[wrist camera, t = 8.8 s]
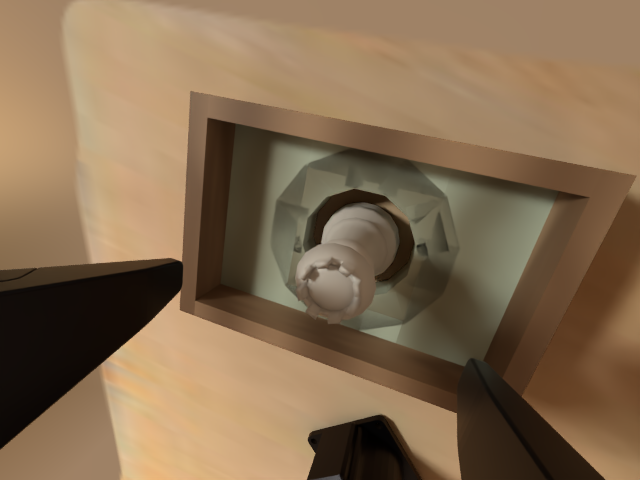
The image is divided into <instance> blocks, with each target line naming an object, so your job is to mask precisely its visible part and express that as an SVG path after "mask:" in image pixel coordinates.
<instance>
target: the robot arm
mask: <svg viewBox="0 0 640 480" xmlns="http://www.w3.org/2000/svg"><path fill="white" fill-rule="evenodd" d="M182 284H183V263H182V262H181V261H178V260H175V259H172V258H165V259H151V260H138V261H124V262H110V263H96V264H83V265H69V266H55V267H43V268H42V267H41V268H38V269H37V268H28V269H12V270H0V450H1V449H2V448H3V447H4V446H5V445H6V444H8V443H9V442H10V441H11V440H12V439H13V438H15V437H16V436H17V435H18V434H19V433H20V432H22V431H23V430H24V429H25V428H26V427H28V426H29V425H30V424H31V423H32V422H33V421H35V420H36V419H37V418H38V417H39V416H40V415H42V414H43V413H44V412H45V411H46V410H48V409H49V408H50V407H51V406H52V405H53V404H55V403H56V402H57V401H58V400H59V399H60V398H62V397H63V396H64V395H65V394H66V393H67V392H69V391H70V390H71V389H72V388H73V387H75V386H76V385H77V384H78V383H79V382H80V381H81V380H83V379H84V378H85V377H86V376H87V375H89V374H90V373H91V372H92V371H93V370H94V369H96V368H97V367H98V366H99V365H100V364H102V363H103V362H104V361H105V360H106V359H107V358H109V357H110V356H111V355H112V354H113V353H114V352H116V351H117V350H118V349H119V348H120V347H121V346H123V345H124V344H125V343H126V342H127V341H129V340H130V339H131V338H132V337H133V336H134V335H136V334H137V333H138V332H139V331H140V330H141V329H143V328H144V327H145V326H146V325H147V324H148V323H149V322H150V321H151V320H152V319H153V318H154V317H155V316H156V315H157V314H158V313H159V312H160V311H161V310H162V309H163V308H164V307H165V306H166V305H167V304H168V303H169V302H170V301H171V300H172V299H173V298H174V297H175V296H176V295H177V294H178V292H179V291H180V290H181V288H182ZM377 423H380V424H377ZM308 442H309V444H310V445H311V447H312V449H313V450H314V452H315V453H316V454H315V457H314V460H313V463H312V466H311V469H310V472H309V475H308V478H307V480H422V479H421V478H420V476H419V474H418V473H417V471H416V469H415V468H414V466H413V464H412V463H411V461H410V459H409V458H408V456H407V454H406V453H405V451H404V449H403V448H402V446H401V444H400V443H399V441H398V439H397V438H396V436H395V434H394V433H393V431H392V429H391V428H390V426H389V424H388V423H387V421H386V419H385V418H384V417H382V416H379V415H376V416H372V417H368V418H364V419H360V420H356V421H352V422H348V423H344V424H340V425H336V426H332V427H328V428H324V429H320V430H316V431H313V432H311V433H310V434H309V437H308ZM457 442H458V455H459V463H460V471H461V479H462V480H605V479H604V478H603V477H602V476H601V475H600V474H599V473H598V472H597V471H596V470H595V469H594V468H593V467H592V466H591V465H590V464H589V463H588V462H587V461H586V460H585V459H584V458H583V457H582V456H581V455H580V454H579V453H578V452H577V451H576V450H575V449H574V448H573V447H572V446H571V445H570V444H569V443H568V442H567V441H566V440H565V439H564V438H563V437H562V436H561V435H560V434H559V433H558V432H557V431H556V430H555V429H554V428H553V427H552V426H551V425H549V424H548V423H547V422H546V421H545V420H544V419H543V418H542V417H541V416H540V415H539V414H538V413H537V412H536V411H535V410H534V409H533V408H532V407H531V406H530V405H529V404H528V403H527V402H526V401H525V400H524V399H523V398H522V397H521V396H520V395H519V394H518V393H517V392H516V391H515V390H514V389H513V388H512V387H511V386H510V385H509V384H508V383H507V382H506V381H505V380H504V379H503V378H502V377H501V376H500V375H499V374H498V373H497V372H496V371H495V370H494V369H493V368H492V367H491V366H490V365H489V364H488V363H486V362H484V361H481V360H478V359H475V358H470V359H469V360H468V361H467V363H466V365H465V367H464V370H463V372H462V374H461V377H460V379H459V381H458V385H457Z"/></svg>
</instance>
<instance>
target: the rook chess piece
mask: <svg viewBox="0 0 640 480" xmlns="http://www.w3.org/2000/svg"><path fill="white" fill-rule="evenodd" d="M321 243H322V244H320V245H317V246H316V247H314V248H312V249H311V250H309V251H307V252H306V253H305V254H304V256H303V257H302V259H301V260H300V261H299V263H298V265H297V271H296V276H295V280H296V284H297V288H296V289H295V290H296V294H297V299H298V301H300V300H303V301H304V302H305V304H306V305H307V306H308V308H307V310H306V311H305V312H306V313H307V314H309V315H310V316H311V317H312V318H314V319H315V320H316V318H317V316H318V315H320V316H323V317H326V318H328V324H340V323H341V321H342V320H349V319H351V318H353V317H356V316H358V315H360V314H362V313H363V312H364V311H365V310H366V309H367V308H368V307H369V305H370V304H371V303H372V301H373V298H374V294H375V291H376V283H375V276H377V275H379V274H381V273H383V272H384V271H385V270H386V269H387V268H388V267H389V266H390V264H391V263H392V262H393V261H394V258H395V257H396V254H397V250H398V247H399V243H400V241H399V234H398V227H397V226H396V224H395V222H394V221H393V219H392V218H391V216H390V214H388V213H387V212H385V211H384V210H383V209H381V208H380V207H379V206H377V205H373V204H369V203H365V202H358V203H351V204H347V205H345V206H344V207H342V208H340V209H339V210H337V211H335V213H334V214H333V215H332V216H331V218H330V219H329V221H328V222H327V224H326V225H325V227H324V230H323V235H322V240H321Z"/></svg>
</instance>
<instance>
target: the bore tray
mask: <svg viewBox="0 0 640 480" xmlns="http://www.w3.org/2000/svg"><path fill="white" fill-rule="evenodd" d="M635 178H636V176H635V175H629V174H624V173H619V172H614V171H608V170H603V169H598V168H592V167H587V166H582V165H577V164H571V163H566V162H561V161H556V160H550V159H545V158H540V157H535V156H529V155H524V154H519V153H514V152H508V151H503V150H498V149H492V148H487V147H482V146H477V145H471V144H466V143H461V142H456V141H450V140H445V139H440V138H435V137H429V136H424V135H419V134H414V133H408V132H403V131H398V130H393V129H387V128H382V127H377V126H371V125H366V124H361V123H356V122H350V121H345V120H340V119H335V118H329V117H324V116H319V115H314V114H308V113H303V112H298V111H293V110H287V109H282V108H277V107H272V106H266V105H261V104H256V103H250V102H245V101H240V100H235V99H229V98H224V97H219V96H214V95H208V94H203V93H198V92H193V91H191V92H190V112H189V133H188V153H187V174H186V194H185V215H184V235H183V256H182V263H183V284H182V288H181V297H180V310H181V311H184V312H186V313H189V314H192V315H194V316H197V317H200V318H202V319H205V320H208V321H210V322H213V323H216V324H219V325H221V326H224V327H227V328H229V329H232V330H235V331H237V332H240V333H243V334H245V335H248V336H251V337H253V338H256V339H259V340H261V341H264V342H267V343H270V344H272V345H275V346H278V347H280V348H283V349H286V350H288V351H291V352H294V353H296V354H299V355H302V356H304V357H307V358H310V359H312V360H315V361H318V362H321V363H323V364H326V365H329V366H331V367H334V368H337V369H339V370H342V371H345V372H347V373H350V374H353V375H355V376H358V377H361V378H363V379H366V380H369V381H372V382H374V383H377V384H380V385H382V386H385V387H388V388H390V389H393V390H396V391H398V392H401V393H404V394H406V395H409V396H412V397H414V398H417V399H420V400H423V401H425V402H428V403H431V404H433V405H436V406H439V407H441V408H444V409H447V410H449V411H452V412H455V413H457V385H458V381H459V379H460V377H461V374H462V372H463V370H464V367H465V365H466V363H467V361H468V360H469V359H470V358H475V359H478V360H481V361H484V362H486V363H488V364H489V365H490V366H491V367H492V368H493V369H494V370H495V371H496V372H497V373H498V374H499V375H500V376H501V377H502V378H503V379H504V380H505V381H506V382H507V383H508V384H509V385H510V386H511V387H512V388H513V389H514V390H515V391H516V392H517V393H518V394H519V395H520V396H522V394H523V392H524V390H525V388H526V387H527V385H528V383H529V381H530V379H531V377H532V375H533V373H534V371H535V369H536V367H537V366H538V364H539V362H540V360H541V358H542V356H543V354H544V352H545V350H546V348H547V346H548V345H549V343H550V341H551V339H552V337H553V335H554V333H555V331H556V329H557V327H558V325H559V324H560V322H561V320H562V318H563V316H564V314H565V312H566V310H567V308H568V306H569V304H570V303H571V301H572V299H573V297H574V295H575V293H576V291H577V289H578V287H579V285H580V283H581V282H582V280H583V278H584V276H585V274H586V272H587V270H588V268H589V266H590V264H591V262H592V260H593V259H594V257H595V255H596V253H597V251H598V249H599V247H600V245H601V243H602V241H603V239H604V238H605V236H606V234H607V232H608V230H609V228H610V226H611V224H612V222H613V220H614V218H615V217H616V215H617V213H618V211H619V209H620V207H621V205H622V203H623V201H624V199H625V197H626V196H627V194H628V192H629V190H630V188H631V186H632V184H633V182H634V180H635ZM354 188H355V189H359V190H363V191H367V192H372V193H376V194H380V195H384V196H386V197H387V198H388V199H389V200H390V201H391V202H392V203H393V204H394V205H395V206H396V207H397V208H399V209H400V210H401V211H402V212H403V213H404V214H405V215H406V216H407V217H408V219H409V223H410V226H411V230H412V234H413V237H414V241H415V242H414V245H413V249H412V252H411V255H410V258H409V262H408V263H407V264H406V265H405V266H404V267H403V268H401V269H400V270H399V271H398V272H397V273H396V274H395V275H393V276H392V277H391V278H390V279H389V280H384V281H379V282H375V283H376V291H375V294H374V298H373V301H372V303H371V304H370V305H369V307H368V308H367V309H366V310H365V311H364V312H363V313H362V314H360V315H358V316H356V317H353V318H351V319H349V320H342V321H341V323H340V324H328V318H326V317H323V316H320V315H318V316H317V318H316V320H315V319H314V318H312V317H311V316H310V315H309V314H307V313H306V312H305V311H306V310H307V308H308V306H307V305H306V304H305V302H304V301H303V300H300V301H298V299H297V294H296V290H295V289H296V288H297V284H296V280H295V276H296V271H297V265H298V263H299V261H300V260H301V259H302V257H303V256H304V254H305V253H306V252H307V251H309V250H311V249H312V248H314V247H316V243H315V240H314V237H313V235H314V230H315V224H316V219H317V214H318V211H319V210H320V209H321V208H322V207H323V206H324V204H325V203H326V202H327V201H328V200H329V199H330V198H331V197H332V196H333V195H335V194H338V193H341V192H345V191H348V190H351V189H354Z"/></svg>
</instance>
